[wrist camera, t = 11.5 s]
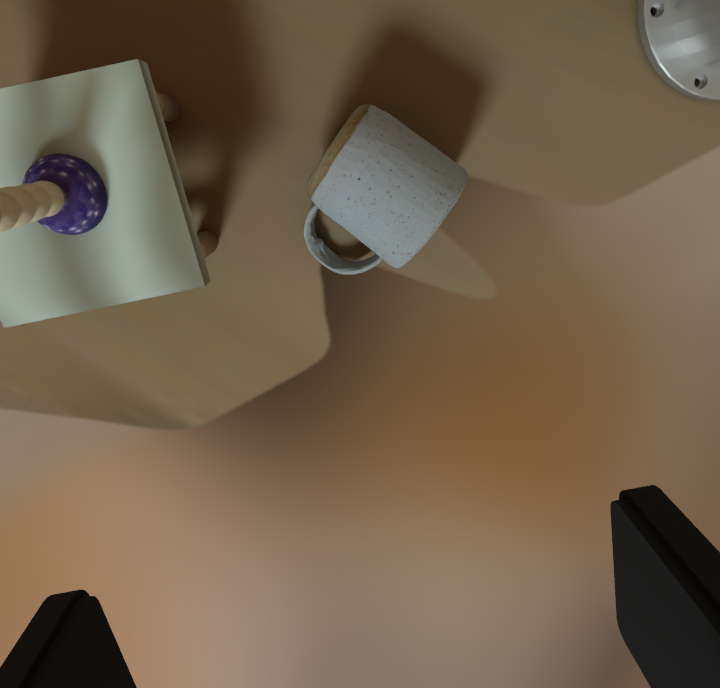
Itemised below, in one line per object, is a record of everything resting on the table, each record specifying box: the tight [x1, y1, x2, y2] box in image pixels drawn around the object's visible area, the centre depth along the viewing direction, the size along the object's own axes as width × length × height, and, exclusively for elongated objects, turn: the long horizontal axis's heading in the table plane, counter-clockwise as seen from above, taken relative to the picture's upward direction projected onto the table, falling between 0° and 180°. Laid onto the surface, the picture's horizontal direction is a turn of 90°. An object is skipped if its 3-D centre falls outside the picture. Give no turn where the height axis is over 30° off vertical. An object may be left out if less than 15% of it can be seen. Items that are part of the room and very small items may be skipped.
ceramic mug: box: [304, 104, 468, 275], centre depth 37 cm, size 11×8×8 cm
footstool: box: [0, 59, 218, 328], centre depth 35 cm, size 12×12×9 cm
